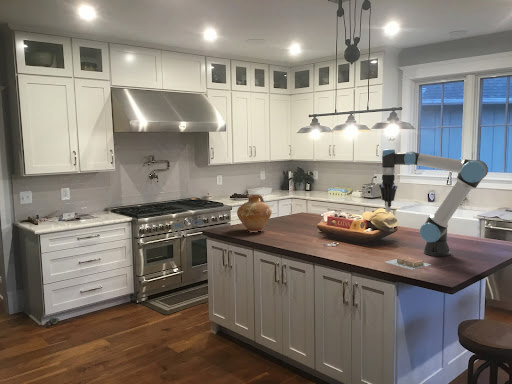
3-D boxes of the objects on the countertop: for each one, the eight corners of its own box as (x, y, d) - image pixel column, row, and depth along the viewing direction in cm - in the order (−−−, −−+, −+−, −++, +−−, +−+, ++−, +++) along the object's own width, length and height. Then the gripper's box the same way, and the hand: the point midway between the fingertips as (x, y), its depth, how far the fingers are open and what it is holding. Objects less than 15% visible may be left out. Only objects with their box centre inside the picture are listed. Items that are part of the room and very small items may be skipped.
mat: (383, 262, 261) (383, 261, 261) (403, 258, 270) (403, 257, 270) (411, 270, 244) (411, 269, 244) (431, 265, 253) (432, 264, 253)
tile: (397, 258, 258) (414, 263, 248) (406, 256, 262) (423, 260, 252) (397, 262, 258) (414, 267, 248) (406, 260, 262) (423, 265, 252)
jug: (230, 232, 361) (229, 195, 358) (251, 226, 383) (250, 192, 380) (258, 236, 344) (257, 197, 341) (278, 230, 366) (278, 193, 363)
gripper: (376, 174, 282) (375, 211, 284) (392, 175, 271) (391, 213, 273) (384, 173, 286) (384, 210, 288) (400, 174, 275) (400, 212, 277)
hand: (387, 211), depth 281 cm, fingers closed
